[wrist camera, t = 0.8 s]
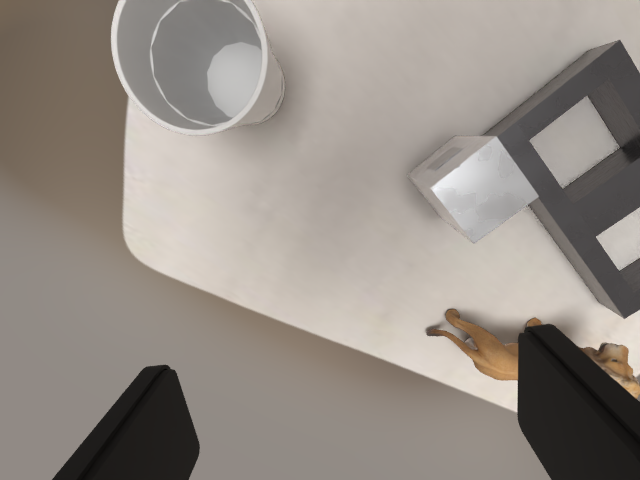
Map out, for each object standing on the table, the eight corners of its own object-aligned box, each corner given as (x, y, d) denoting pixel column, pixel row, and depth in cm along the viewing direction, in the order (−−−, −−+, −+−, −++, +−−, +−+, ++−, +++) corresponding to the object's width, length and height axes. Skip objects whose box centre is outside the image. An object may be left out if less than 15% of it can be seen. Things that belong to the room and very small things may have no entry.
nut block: (454, 135, 29) (496, 135, 22) (488, 181, 30) (539, 197, 23) (406, 174, 31) (430, 187, 23) (440, 217, 32) (474, 244, 24)
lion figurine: (581, 305, 33) (667, 365, 25) (572, 353, 35) (649, 425, 26) (426, 307, 34) (456, 365, 26) (423, 354, 36) (451, 424, 27)
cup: (308, 117, 30) (290, 106, 18) (222, 147, 31) (153, 155, 19) (275, 15, 27) (231, -71, 16) (184, 51, 28) (81, -4, 17)
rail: (590, 49, 27) (619, 39, 24) (704, 237, 31) (741, 248, 28) (480, 137, 29) (495, 138, 26) (599, 302, 33) (624, 318, 30)
